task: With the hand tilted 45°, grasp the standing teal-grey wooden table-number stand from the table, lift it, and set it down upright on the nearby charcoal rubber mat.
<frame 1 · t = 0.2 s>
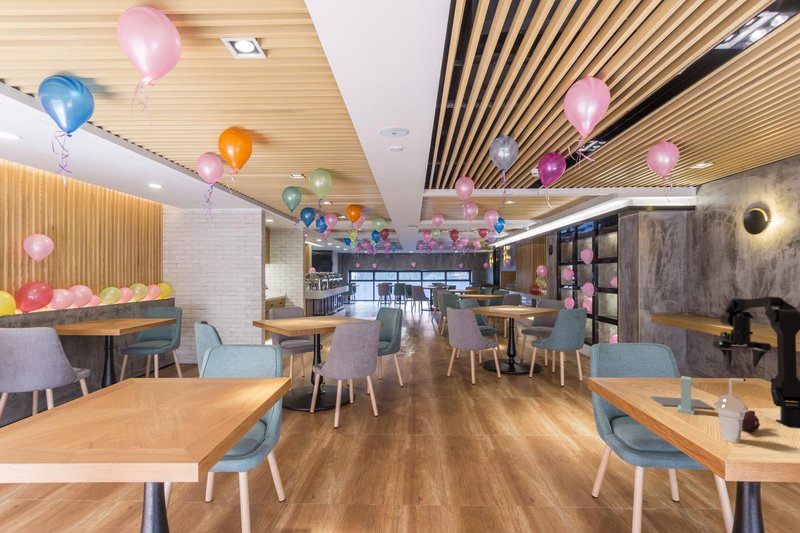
hand: (741, 366, 175), 15 cm above the table, tool pointing down, fingers open, 9 cm apart
mat: (681, 403, 170), on the table
cup with straw: (731, 440, 131), on the table
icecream: (745, 431, 140), on the table
number stand: (686, 411, 160), on the table
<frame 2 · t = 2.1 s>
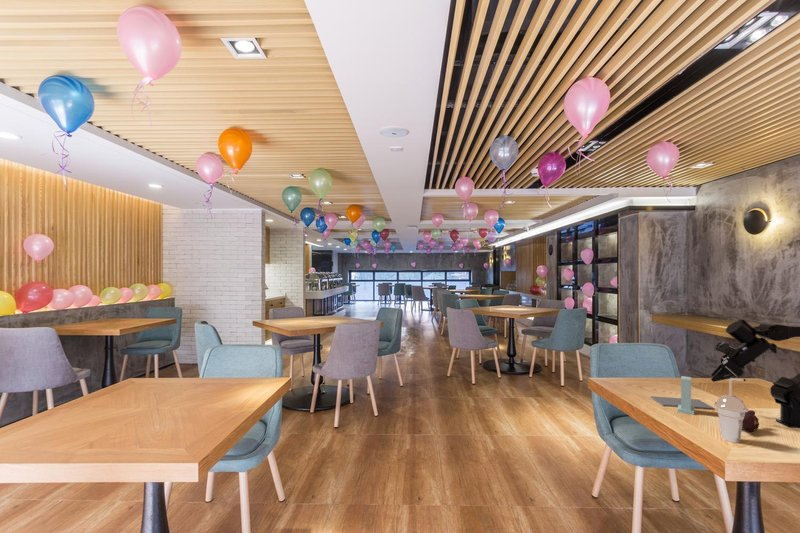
hand: (712, 378, 157), 13 cm above the table, tool tilted 45°, fingers open, 9 cm apart
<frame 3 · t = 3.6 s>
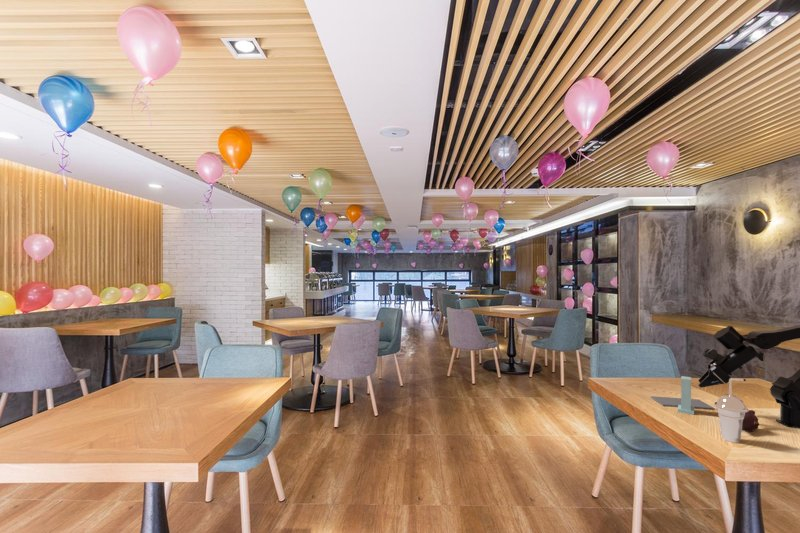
hand: (699, 384, 158), 11 cm above the table, tool tilted 45°, fingers open, 9 cm apart
nothing on the table moved.
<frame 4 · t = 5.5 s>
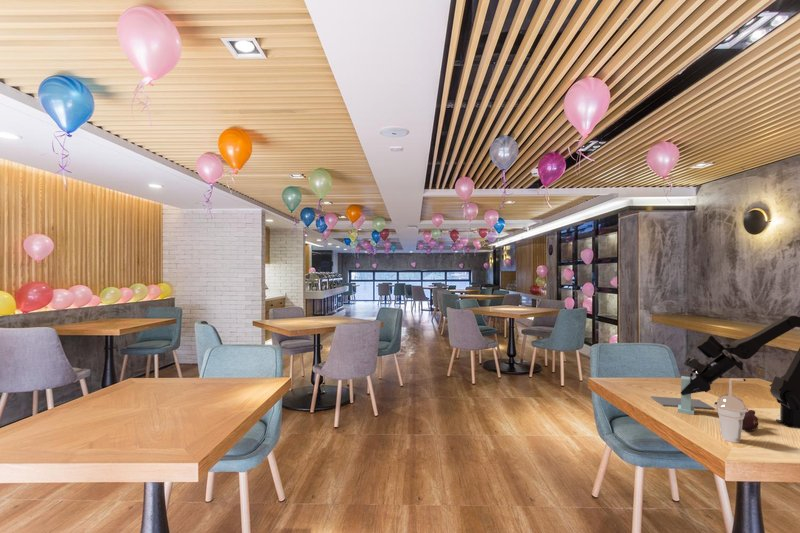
hand: (681, 392, 161), 7 cm above the table, tool tilted 45°, fingers closed on number stand, 5 cm apart
number stand: (685, 411, 160), on the table, touching gripper
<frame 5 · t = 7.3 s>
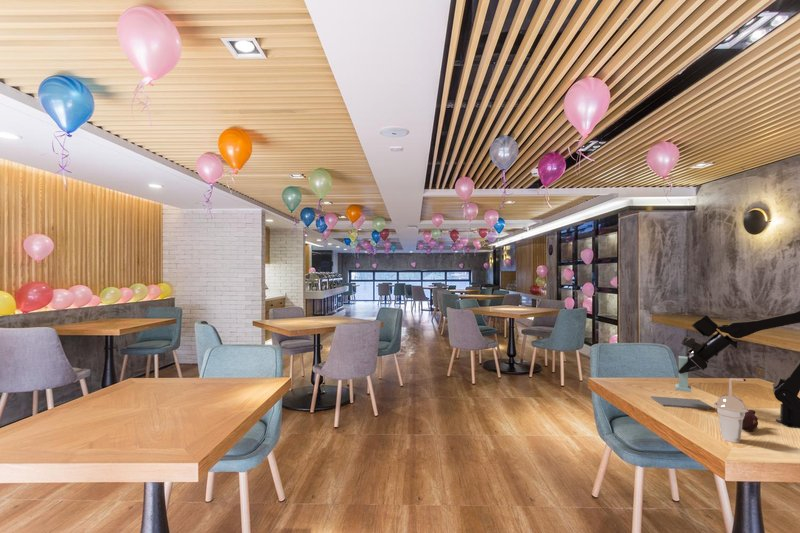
hand: (678, 371, 167), 14 cm above the table, tool tilted 45°, fingers closed on number stand, 5 cm apart
number stand: (683, 389, 166), point 7 cm above the table, touching gripper
when the fingers open (8 cm above the table, at t = 9.3 s): number stand drops 1 cm, resting on mat.
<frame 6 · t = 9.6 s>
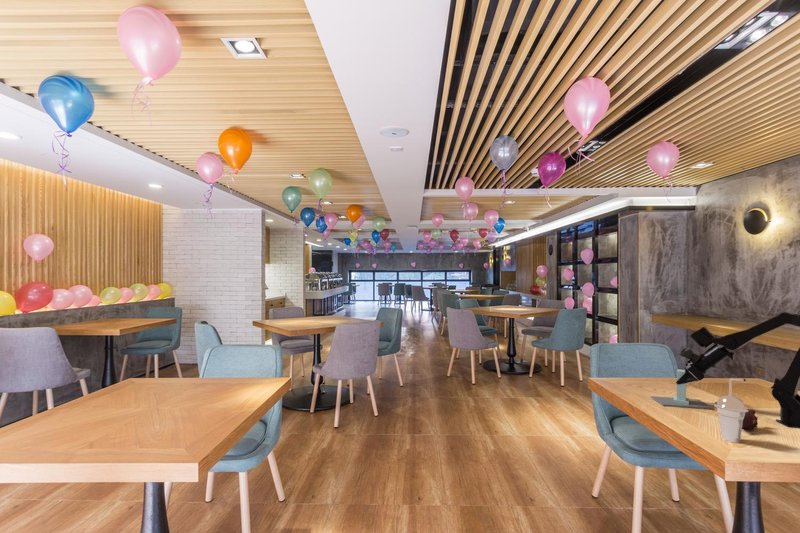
hand: (677, 381, 171), 9 cm above the table, tool tilted 45°, fingers open, 9 cm apart
number stand: (681, 401, 170), point 1 cm above the table, touching mat
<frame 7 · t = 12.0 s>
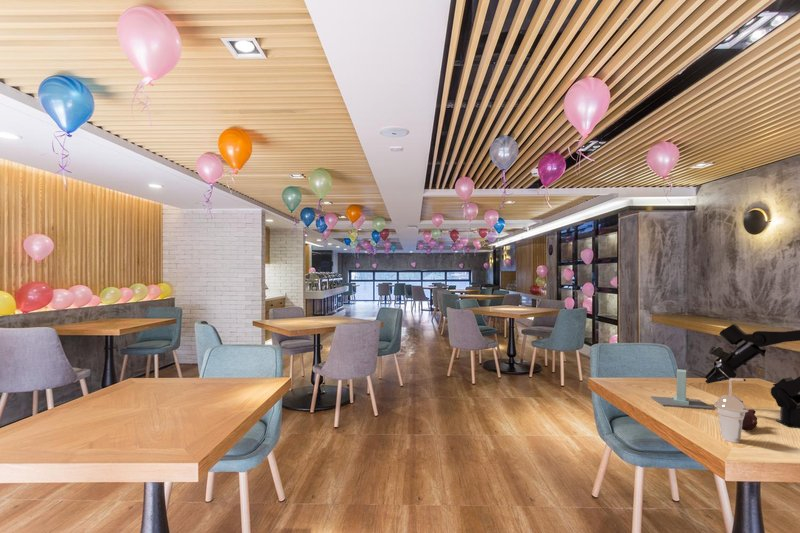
hand: (706, 380, 166), 11 cm above the table, tool tilted 45°, fingers open, 9 cm apart
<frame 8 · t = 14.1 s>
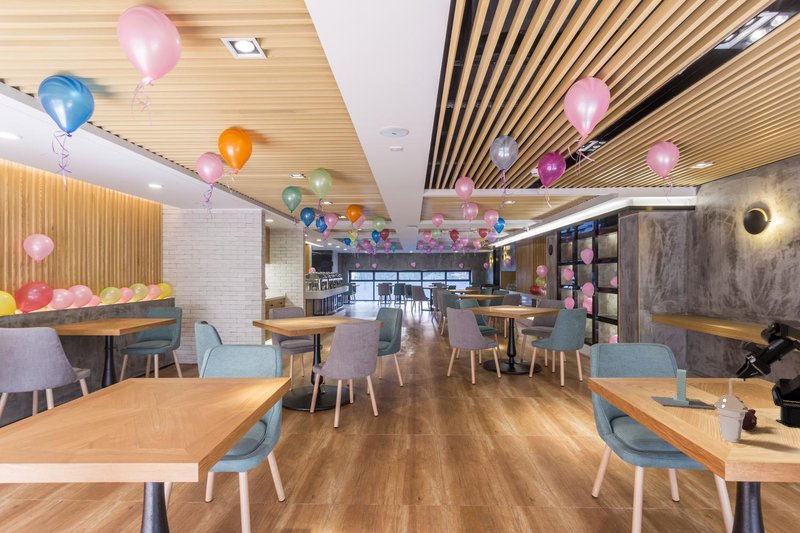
hand: (737, 376, 160), 14 cm above the table, tool tilted 45°, fingers open, 9 cm apart
at the end: number stand inside the target area (0.0 cm from its centre), point 0.6 cm above the table; number stand tilted 0°; the gripper is holding nothing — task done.
